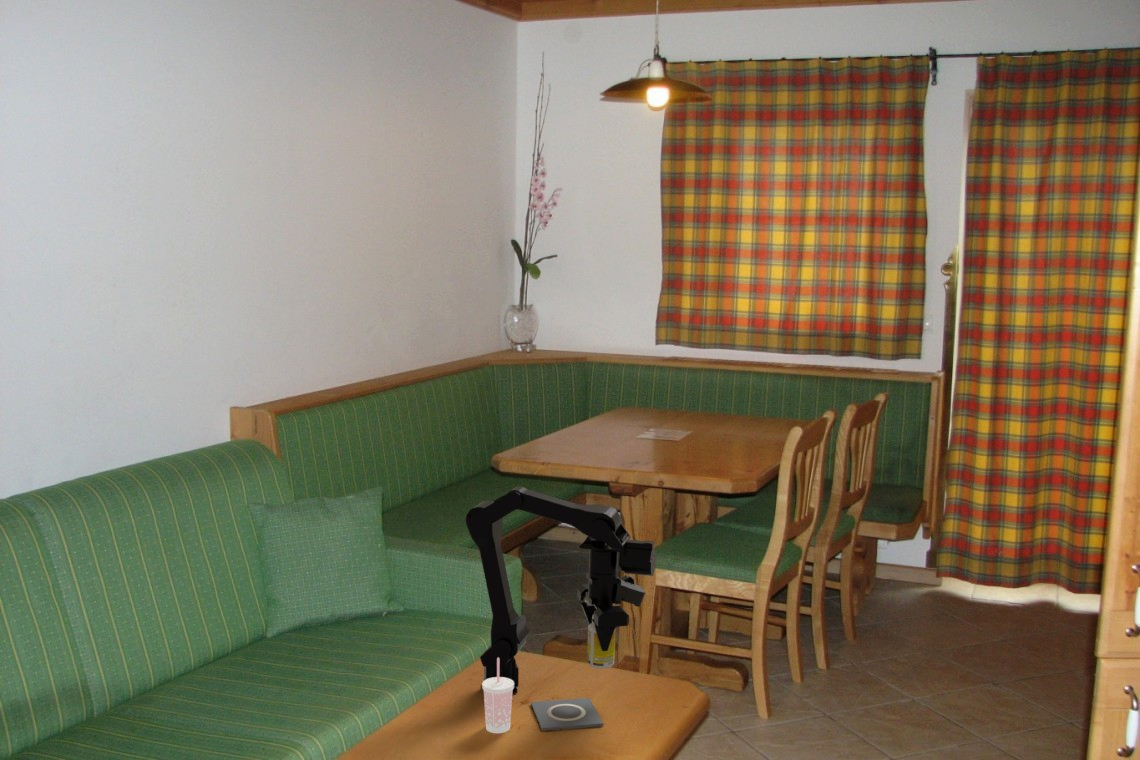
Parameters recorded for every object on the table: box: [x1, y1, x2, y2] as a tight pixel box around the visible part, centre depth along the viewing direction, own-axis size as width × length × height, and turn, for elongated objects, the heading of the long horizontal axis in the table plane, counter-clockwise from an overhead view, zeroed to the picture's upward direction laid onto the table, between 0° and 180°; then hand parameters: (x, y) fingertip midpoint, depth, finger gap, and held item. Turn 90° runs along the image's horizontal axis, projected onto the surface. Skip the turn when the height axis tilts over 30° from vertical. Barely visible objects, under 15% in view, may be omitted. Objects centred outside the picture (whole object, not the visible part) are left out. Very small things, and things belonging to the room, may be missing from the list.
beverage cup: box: [481, 658, 514, 734], centre depth 210 cm, size 6×6×14 cm
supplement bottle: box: [586, 614, 616, 670], centre depth 222 cm, size 6×6×10 cm
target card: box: [530, 697, 604, 732], centre depth 217 cm, size 12×12×1 cm
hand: (601, 645), depth 222 cm, fingers closed on supplement bottle, 5 cm apart
